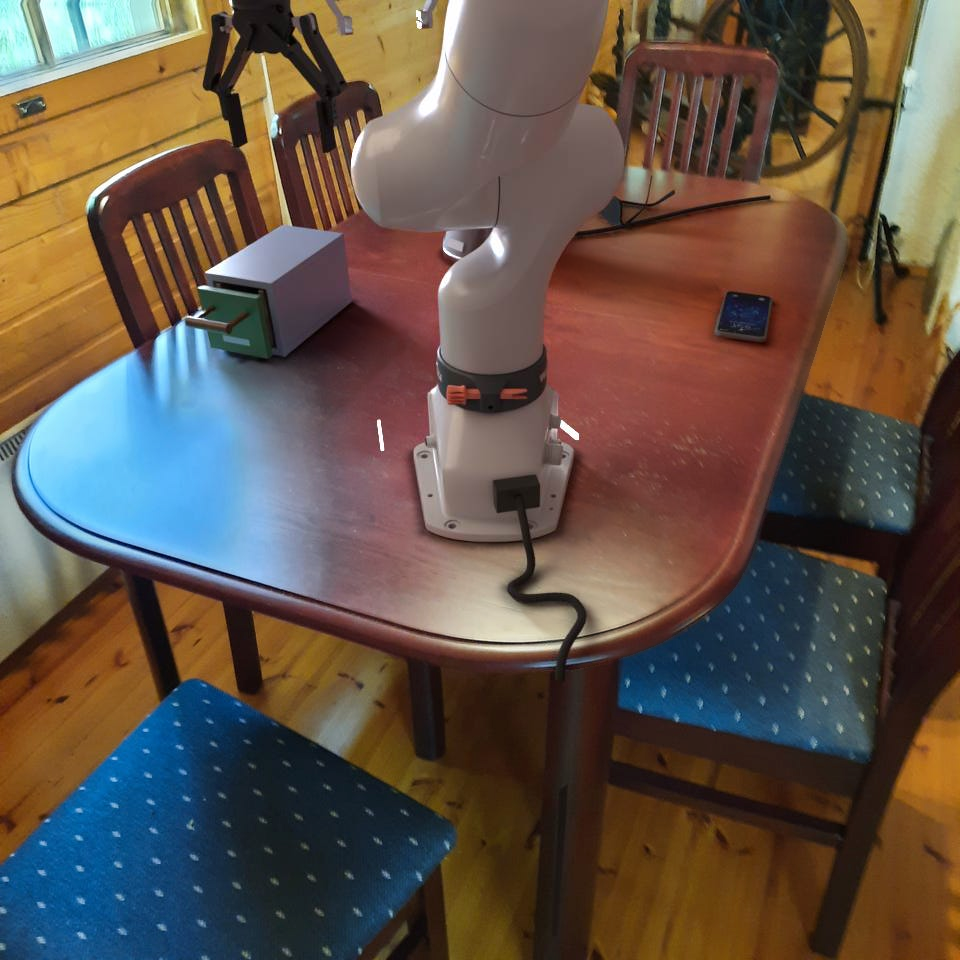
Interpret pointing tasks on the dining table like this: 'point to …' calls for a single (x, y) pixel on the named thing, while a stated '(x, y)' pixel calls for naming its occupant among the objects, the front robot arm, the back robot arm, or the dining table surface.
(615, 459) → the dining table surface
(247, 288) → the drawer
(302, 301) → the cabinet
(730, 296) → the smartphone
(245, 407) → the dining table surface
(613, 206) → the sunglasses
